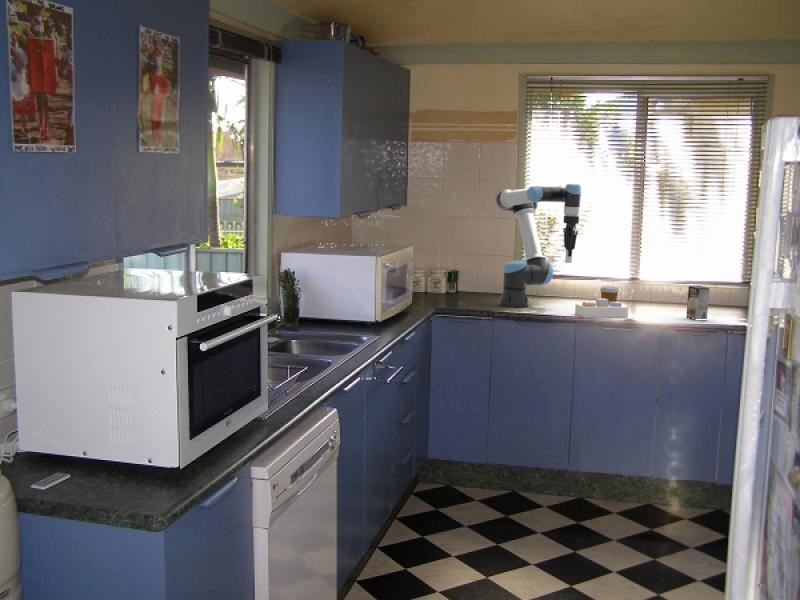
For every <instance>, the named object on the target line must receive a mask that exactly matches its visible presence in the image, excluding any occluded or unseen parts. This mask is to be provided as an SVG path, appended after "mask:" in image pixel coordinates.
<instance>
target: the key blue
mask: <svg viewBox="0 0 800 600" xmlns="http://www.w3.org/2000/svg"><path fill="white" fill-rule="evenodd" d="M609 305H610V306H621V305H622V302H619V301H616V302H609Z"/></svg>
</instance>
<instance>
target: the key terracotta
mask: <svg viewBox="0 0 800 600" xmlns="http://www.w3.org/2000/svg"><path fill="white" fill-rule="evenodd" d="M581 304H582V305H583V306H585V307H595V304H596V302H594V301H582V303H581Z"/></svg>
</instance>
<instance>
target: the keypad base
mask: <svg viewBox="0 0 800 600" xmlns="http://www.w3.org/2000/svg"><path fill="white" fill-rule="evenodd" d="M574 309H575V310H574V314H575V315H576V314H578V315H577V316H579V315H580V316H579V317H581V316H582V317H581V318H583V319H584V318H586V319H587V318H589V319H590V317H597V318H628V316H629V307H628V306H626V305H624V304H621V306H610V305H609V304H608V306H601V307H599V306H596V303H595V307H585V306H583V305H582V303H575V307H574Z"/></svg>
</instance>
